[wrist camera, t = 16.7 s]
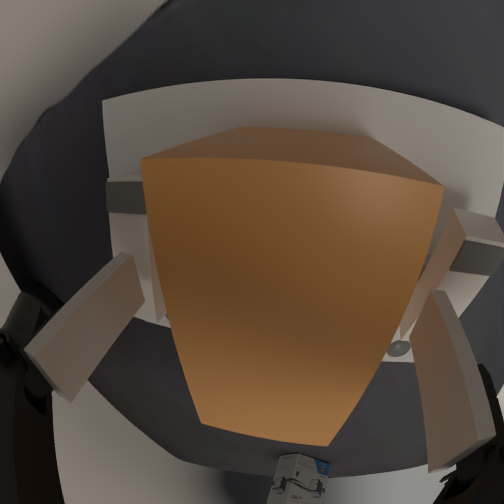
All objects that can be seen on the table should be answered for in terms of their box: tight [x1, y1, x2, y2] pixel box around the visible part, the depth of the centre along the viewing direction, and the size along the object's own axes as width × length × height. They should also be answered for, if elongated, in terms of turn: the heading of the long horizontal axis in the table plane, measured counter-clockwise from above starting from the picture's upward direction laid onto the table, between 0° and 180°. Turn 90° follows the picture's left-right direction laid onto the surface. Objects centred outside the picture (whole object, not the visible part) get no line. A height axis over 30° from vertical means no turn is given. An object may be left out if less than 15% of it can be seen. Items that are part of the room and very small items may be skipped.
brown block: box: [140, 127, 445, 446], centre depth 11 cm, size 6×12×8 cm, turn 0°
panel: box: [102, 79, 504, 362], centre depth 15 cm, size 23×17×4 cm
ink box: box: [266, 453, 330, 504], centre depth 32 cm, size 9×5×12 cm, turn 54°
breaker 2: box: [400, 208, 504, 341], centre depth 11 cm, size 3×8×2 cm, turn 0°
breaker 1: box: [106, 175, 167, 323], centre depth 14 cm, size 3×8×2 cm, turn 0°
